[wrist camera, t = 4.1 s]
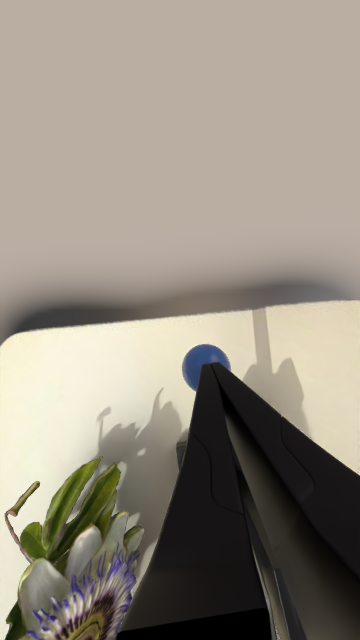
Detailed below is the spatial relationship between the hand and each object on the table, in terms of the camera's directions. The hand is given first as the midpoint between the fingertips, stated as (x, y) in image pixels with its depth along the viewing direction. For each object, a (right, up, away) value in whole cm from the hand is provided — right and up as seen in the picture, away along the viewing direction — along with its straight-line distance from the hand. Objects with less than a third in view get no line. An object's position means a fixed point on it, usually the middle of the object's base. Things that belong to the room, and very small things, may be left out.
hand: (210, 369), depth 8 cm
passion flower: (-10, -18, +9) cm, 23 cm away
